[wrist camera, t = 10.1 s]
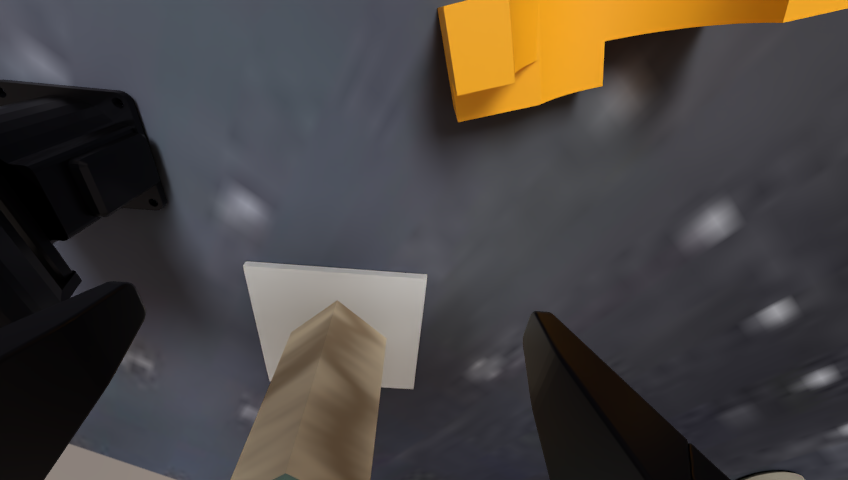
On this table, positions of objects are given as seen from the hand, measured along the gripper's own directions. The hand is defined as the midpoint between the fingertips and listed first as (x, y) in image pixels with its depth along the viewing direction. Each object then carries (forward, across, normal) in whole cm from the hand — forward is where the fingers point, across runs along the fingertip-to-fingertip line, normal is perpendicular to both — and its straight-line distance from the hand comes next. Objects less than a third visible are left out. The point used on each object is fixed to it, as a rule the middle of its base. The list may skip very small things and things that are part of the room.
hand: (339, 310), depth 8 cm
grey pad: (+13, +3, +15) cm, 20 cm away
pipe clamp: (+13, -8, -6) cm, 17 cm away
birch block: (+12, +3, +15) cm, 20 cm away
